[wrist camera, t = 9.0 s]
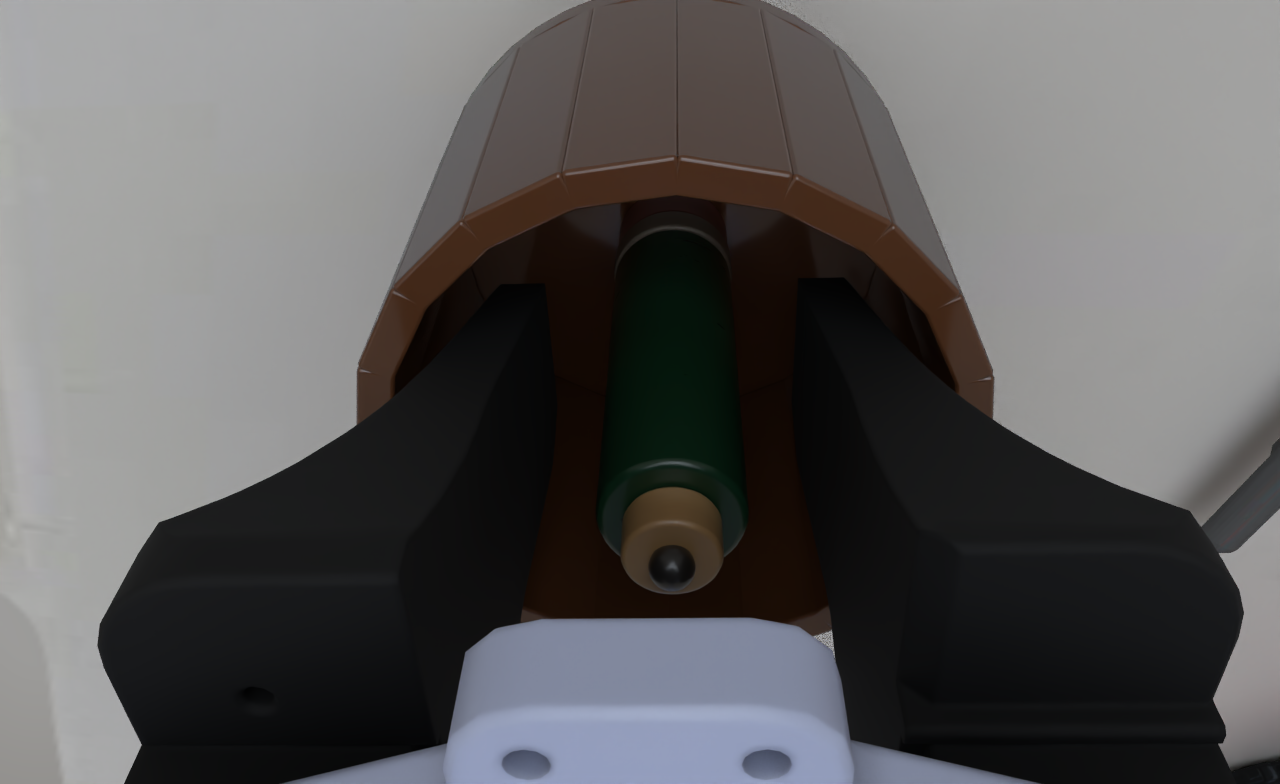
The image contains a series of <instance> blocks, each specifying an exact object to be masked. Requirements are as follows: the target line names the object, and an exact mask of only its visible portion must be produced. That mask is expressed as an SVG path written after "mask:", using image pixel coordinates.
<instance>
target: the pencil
mask: <svg viewBox="0 0 1280 784" xmlns="http://www.w3.org/2000/svg"><path fill="white" fill-rule="evenodd" d="M614 279H615V293H614V304H613V316H612V327H611V339H610V351H609V362H608V374H607V386H606V397H605V409H604V420H603V432H602V444H601V455H600V467H599V478H598V490H597V502H596V520H597V525H598V528H599V530H600V533H601V534H602V536H603V538H604V540H605V541H606V543H607V544H608V545H609V547H610V548H611V549H612V550H613V551H614V552H615V553H616V554H617V555H619V556H620V557H621V562H622V565H623V567H624V569H625V571H626V573H627V574H628V576H629V577H630V578H631V579H632V580H633V581H634V582H635V583H637V584H638V585H640V586H642V587H643V588H645V589H648V590H650V591H653V592H657V593H663V594H682V593H688V592H692V591H695V590H697V589H700V588H702V587H704V586H705V585H707V584H708V583H709V582H711V581H712V580H713V579H714V578H715V576H716V575H717V574H718V572H719V570H720V569H721V566H722V564H723V560H724V557H725V556H727V555H728V554H729V553H730V552H731V551H732V550H733V549H734V548H735V547H736V546H737V544H738V543H739V541H740V540H741V538H742V537H743V535H744V532H745V530H746V528H747V524H748V519H749V507H748V495H747V482H746V470H745V457H744V445H743V432H742V420H741V407H740V395H739V382H738V369H737V357H736V344H735V332H734V319H733V307H732V294H731V280H732V269H731V257H730V251H729V248H728V244H727V232H726V226H725V223H724V220H723V218H722V216H721V214H720V213H719V211H718V210H717V209H716V207H715V206H714V205H713V204H712V203H710V202H709V201H708V200H701V199H695V198H688V197H682V196H670V197H663V198H656V199H648V200H641V201H637V202H636V203H635V204H634V205H633V206H632V207H631V208H630V209H629V211H628V212H627V214H626V215H625V217H624V219H623V221H622V224H621V228H620V234H619V246H618V249H617V252H616V258H615V269H614Z"/></svg>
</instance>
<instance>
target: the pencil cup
mask: <svg viewBox="0 0 1280 784" xmlns="http://www.w3.org/2000/svg"><path fill="white" fill-rule="evenodd" d="M670 196H682V197H688V198H695V199H701V200H708V201H709V202H710V203H712V204H713V205H714V206H715V207H716V209H717V210H718V211H719V213H720V214H721V216H722V218H723V220H724V223H725V226H726V232H727V244H728V248H729V251H730V257H731V269H732V280H731V294H732V307H733V319H734V332H735V344H736V357H737V369H738V382H739V395H740V407H741V420H742V432H743V445H744V457H745V470H746V482H747V495H748V507H749V519H748V524H747V528H746V530H745V532H744V535H743V537H742V538H741V540H740V541H739V543H738V544H737V546H736V547H735V548H734V549H733V550H732V551H731V552H730V553H729V554H728V555H727V556H725V557H724V560H723V564H722V566H721V569H720V570H719V572H718V574H717V575H716V576H715V578H714V579H713V580H712V581H711V582H709V583H708V584H707V585H705V586H704V587H702V588H700V589H697V590H695V591H692V592H688V593H682V594H663V593H657V592H653V591H650V590H648V589H645V588H643V587H642V586H640V585H638V584H637V583H635V582H634V581H633V580H632V579H631V578H630V577H629V576H628V574H627V573H626V571H625V569H624V567H623V565H622V562H621V557H620V556H619V555H617V554H616V553H615V552H614V551H613V550H612V549H611V548H610V547H609V545H608V544H607V543H606V541H605V540H604V538H603V536H602V534H601V533H600V530H599V528H598V525H597V520H596V502H597V490H598V478H599V467H600V455H601V444H602V432H603V420H604V409H605V397H606V386H607V374H608V362H609V351H610V339H611V327H612V316H613V304H614V293H615V279H614V269H615V258H616V252H617V249H618V246H619V234H620V228H621V224H622V221H623V219H624V217H625V215H626V214H627V212H628V211H629V209H630V208H631V207H632V206H633V205H634V204H635V203H636V202H637V201H641V200H648V199H656V198H663V197H670ZM838 277H844V278H845V279H846V280H847V281H848V282H849V283H850V284H851V285H852V286H853V287H854V289H855V290H856V291H857V292H858V293H859V295H860V296H861V297H862V298H863V299H864V301H865V302H866V303H867V304H868V305H869V307H870V308H871V309H872V310H873V311H874V312H875V314H876V315H877V316H878V317H879V318H880V319H881V320H882V322H883V323H884V324H885V325H886V326H887V327H888V328H889V329H890V331H891V332H892V333H893V334H894V335H895V336H896V337H897V338H898V339H899V340H900V341H901V342H902V343H903V344H904V345H905V346H906V347H907V348H908V349H909V350H910V351H911V352H912V354H913V355H914V356H915V357H916V358H917V359H918V360H919V361H920V362H921V363H922V364H924V365H925V366H926V367H927V368H928V369H929V370H930V371H931V372H932V373H934V374H935V375H936V376H937V377H938V378H939V379H940V380H942V381H943V382H944V383H945V384H946V385H947V386H948V387H950V388H951V389H952V390H953V391H955V392H956V393H957V394H958V395H960V396H961V397H962V398H963V399H965V400H966V401H967V402H969V403H970V404H972V405H973V406H974V407H976V408H977V409H979V410H980V411H981V412H983V413H984V414H986V415H987V416H988V417H990V418H991V419H993V406H994V376H993V369H992V366H991V364H990V361H989V359H988V356H987V354H986V351H985V349H984V346H983V343H982V341H981V338H980V336H979V333H978V331H977V328H976V326H975V323H974V321H973V318H972V316H971V313H970V311H969V308H968V306H967V303H966V301H965V298H964V296H963V293H962V291H961V288H960V286H959V283H958V281H957V278H956V276H955V273H954V271H953V269H952V266H951V264H950V261H949V259H948V256H947V254H946V251H945V249H944V246H943V244H942V241H941V239H940V237H939V234H938V232H937V229H936V227H935V224H934V222H933V219H932V217H931V214H930V212H929V210H928V207H927V205H926V202H925V200H924V197H923V195H922V192H921V190H920V187H919V185H918V183H917V180H916V178H915V175H914V173H913V170H912V168H911V165H910V163H909V160H908V158H907V156H906V153H905V151H904V148H903V146H902V143H901V141H900V138H899V136H898V133H897V131H896V129H895V126H894V124H893V121H892V119H891V116H890V114H889V111H888V109H887V108H886V107H885V105H884V102H883V101H882V100H881V98H880V97H879V95H878V93H877V92H876V90H875V89H874V87H873V86H872V84H871V83H870V81H869V80H868V78H867V77H866V75H865V74H864V73H863V72H862V71H861V70H860V69H859V67H858V66H857V65H856V64H855V63H854V62H853V61H852V59H851V58H850V57H849V56H848V55H847V54H846V53H845V52H844V51H843V50H842V49H841V48H839V47H838V46H837V45H836V44H835V43H833V42H832V41H831V40H830V39H829V38H828V37H826V36H825V35H824V34H823V33H822V32H820V31H819V30H817V29H815V28H814V27H812V26H811V25H809V24H808V23H806V22H804V21H803V20H801V19H800V18H798V17H796V16H795V15H793V14H791V13H789V12H786V11H784V10H782V9H780V8H777V7H775V6H773V5H771V4H769V3H766V2H764V1H761V0H590V1H588V2H586V3H583V4H581V5H578V6H576V7H573V8H571V9H568V10H566V11H564V12H562V13H560V14H559V15H557V16H555V17H553V18H552V19H550V20H548V21H546V22H545V23H543V24H541V25H540V26H538V27H536V28H535V29H534V30H532V31H531V32H530V33H528V34H527V35H526V36H525V37H523V38H522V39H521V40H519V41H518V42H517V43H516V44H514V45H513V46H512V47H511V48H510V49H509V50H508V51H507V52H506V53H505V54H504V55H503V56H502V57H501V58H500V59H499V60H498V61H497V62H496V63H495V64H494V65H493V66H492V67H491V68H490V69H489V71H488V72H487V73H486V75H485V76H484V78H483V79H482V80H481V82H480V83H479V85H478V86H477V87H476V89H475V90H474V91H473V93H472V94H471V96H470V98H469V100H468V102H467V104H466V105H465V106H464V108H463V110H462V113H461V115H460V117H459V119H458V121H457V124H456V126H455V129H454V131H453V134H452V136H451V138H450V141H449V143H448V145H447V148H446V150H445V152H444V155H443V157H442V159H441V162H440V164H439V166H438V169H437V171H436V174H435V176H434V179H433V181H432V184H431V186H430V188H429V191H428V193H427V196H426V198H425V201H424V203H423V206H422V208H421V210H420V213H419V215H418V218H417V220H416V223H415V225H414V228H413V230H412V232H411V235H410V237H409V240H408V242H407V245H406V247H405V250H404V252H403V254H402V257H401V259H400V262H399V264H398V267H397V269H396V272H395V274H394V276H393V279H392V281H391V284H390V286H389V289H388V291H387V294H386V296H385V298H384V301H383V303H382V306H381V308H380V311H379V313H378V316H377V318H376V321H375V323H374V325H373V328H372V330H371V333H370V335H369V338H368V340H367V343H366V345H365V347H364V350H363V352H362V355H361V357H360V360H359V362H358V365H359V366H358V368H357V425H358V424H359V423H360V422H362V421H363V420H364V419H366V418H367V417H368V416H370V415H371V414H372V413H374V412H375V411H376V410H378V409H379V408H380V407H382V406H383V405H384V404H385V403H387V402H388V401H389V400H390V399H391V398H393V397H394V396H395V395H396V394H397V393H398V392H400V391H401V390H402V389H403V388H404V387H405V386H406V385H407V384H408V383H409V382H410V381H411V380H412V379H413V378H415V377H416V376H417V375H418V374H419V373H420V372H421V371H422V370H423V369H424V368H425V367H426V366H427V365H428V364H429V363H430V362H431V361H432V360H433V359H434V358H435V357H436V356H437V355H438V354H439V352H440V351H441V350H442V349H443V348H444V347H445V346H446V345H447V344H448V343H449V342H450V341H451V340H452V339H453V337H454V336H455V335H456V334H457V333H458V332H459V331H460V330H461V328H462V327H463V326H464V325H465V324H466V323H467V322H468V320H469V319H470V318H471V317H472V316H473V315H474V313H475V312H476V311H477V310H478V309H479V308H480V306H481V305H482V304H483V303H484V302H485V301H486V299H487V298H488V297H489V296H490V295H491V294H492V293H493V292H494V290H495V289H496V288H497V287H498V286H499V285H500V284H539V283H545V288H546V298H547V308H548V318H549V327H550V337H551V347H552V356H553V366H554V376H555V385H556V395H557V419H556V433H555V445H554V457H553V466H552V471H551V476H550V481H549V485H548V490H547V495H546V499H545V504H544V509H543V513H542V518H541V522H540V527H539V532H538V536H537V541H536V545H535V550H534V554H533V559H532V563H531V568H530V572H529V577H528V581H527V586H526V591H525V597H524V602H523V608H522V614H521V622H520V623H525V622H530V621H535V620H540V619H605V618H756V619H761V620H767V621H773V622H778V623H784V624H790V625H794V626H798V627H800V628H801V629H803V630H804V631H806V632H807V633H809V634H810V635H811V636H816V635H819V634H822V633H826V632H829V631H831V630H832V624H831V615H830V610H829V604H828V598H827V593H826V587H825V583H824V578H823V574H822V570H821V565H820V561H819V557H818V552H817V548H816V543H815V539H814V535H813V530H812V526H811V522H810V517H809V513H808V509H807V504H806V500H805V495H804V491H803V486H802V482H801V477H800V473H799V468H798V463H797V455H796V445H795V435H794V423H793V411H792V386H793V367H794V348H795V329H796V310H797V291H798V278H838Z"/></svg>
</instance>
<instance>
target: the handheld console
mask: <svg viewBox="0 0 1280 784" xmlns="http://www.w3.org/2000/svg"><path fill="white" fill-rule="evenodd" d="M1231 773H1232V775H1233V777H1234V779H1235V781H1236V783H1237V784H1280V760H1279V761H1275V762H1271V763H1267V762H1265V763H1261V764H1257V765H1254V766H1250V767H1246V768H1243V769H1239V770H1236V771H1233V772H1231Z"/></svg>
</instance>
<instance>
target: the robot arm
mask: <svg viewBox="0 0 1280 784" xmlns="http://www.w3.org/2000/svg"><path fill="white" fill-rule="evenodd" d="M792 411H793V423H794V435H795V445H796V455H797V463H798V468H799V473H800V477H801V482H802V486H803V491H804V495H805V500H806V504H807V509H808V513H809V517H810V522H811V526H812V530H813V535H814V539H815V543H816V548H817V552H818V557H819V561H820V565H821V570H822V574H823V578H824V583H825V587H826V593H827V598H828V604H829V610H830V615H831V624H832V633H833V642H834V651H835V658H834V655H833V652H832V650H831V649H830V648H828V647H827V646H826V645H824V644H823V643H821V642H820V641H818V640H817V639H816V638H814V637H813V636H811V635H810V634H809V633H807V632H806V631H804V630H803V629H801V628H800V627H798V626H794V625H790V624H784V623H778V622H773V621H767V620H761V619H756V618H605V619H540V620H535V621H530V622H525V623H520V622H521V614H522V608H523V602H524V597H525V591H526V586H527V581H528V577H529V572H530V568H531V563H532V559H533V554H534V550H535V545H536V541H537V536H538V532H539V527H540V522H541V518H542V513H543V509H544V504H545V499H546V495H547V490H548V485H549V481H550V476H551V471H552V466H553V457H554V445H555V433H556V419H557V395H556V385H555V376H554V366H553V356H552V347H551V337H550V327H549V318H548V308H547V298H546V288H545V283H539V284H500V285H499V286H498V287H497V288H496V289H495V290H494V292H493V293H492V294H491V295H490V296H489V297H488V298H487V299H486V301H485V302H484V303H483V304H482V305H481V306H480V308H479V309H478V310H477V311H476V312H475V313H474V315H473V316H472V317H471V318H470V319H469V320H468V322H467V323H466V324H465V325H464V326H463V327H462V328H461V330H460V331H459V332H458V333H457V334H456V335H455V336H454V337H453V339H452V340H451V341H450V342H449V343H448V344H447V345H446V346H445V347H444V348H443V349H442V350H441V351H440V352H439V354H438V355H437V356H436V357H435V358H434V359H433V360H432V361H431V362H430V363H429V364H428V365H427V366H426V367H425V368H424V369H423V370H422V371H421V372H420V373H419V374H418V375H417V376H416V377H415V378H413V379H412V380H411V381H410V382H409V383H408V384H407V385H406V386H405V387H404V388H403V389H402V390H401V391H400V392H398V393H397V394H396V395H395V396H394V397H393V398H391V399H390V400H389V401H388V402H387V403H385V404H384V405H383V406H382V407H380V408H379V409H378V410H376V411H375V412H374V413H372V414H371V415H370V416H368V417H367V418H366V419H364V420H363V421H362V422H360V423H359V424H358V425H356V426H355V427H354V428H352V429H351V430H349V431H348V432H346V433H345V434H343V435H342V436H340V437H338V438H337V439H335V440H334V441H332V442H330V443H329V444H327V445H325V446H324V447H322V448H321V449H319V450H317V451H316V452H314V453H312V454H311V455H309V456H308V457H306V458H304V459H303V460H301V461H299V462H298V463H296V464H294V465H292V466H290V467H288V468H286V469H284V470H283V471H281V472H279V473H277V474H275V475H273V476H271V477H269V478H267V479H265V480H263V481H261V482H259V483H256V484H254V485H252V486H250V487H248V488H246V489H244V490H242V491H239V492H237V493H235V494H232V495H230V496H228V497H226V498H223V499H220V500H218V501H215V502H213V503H210V504H207V505H205V506H202V507H200V508H197V509H194V510H192V511H189V512H187V513H184V514H181V515H179V516H176V517H174V518H171V519H168V520H165V521H162V522H159V523H158V525H157V526H156V528H155V529H154V531H153V532H152V534H151V535H150V537H149V538H148V540H147V541H146V543H145V544H144V546H143V547H142V549H141V550H140V552H139V553H138V555H137V557H136V559H135V561H134V563H133V564H132V566H131V568H130V570H129V572H128V573H127V575H126V577H125V579H124V581H123V583H122V584H121V586H120V588H119V590H118V592H117V594H116V595H115V597H114V599H113V601H112V603H111V605H110V606H109V608H108V610H107V612H106V614H105V616H104V617H103V619H102V621H101V623H100V628H99V637H98V649H99V653H100V656H101V659H102V663H103V666H104V669H105V671H106V673H107V675H108V677H109V679H110V681H111V683H112V685H113V687H114V689H115V691H116V693H117V695H118V697H119V699H120V701H121V703H122V705H123V707H124V710H125V712H126V714H127V716H128V718H129V720H130V722H131V724H132V726H133V728H134V730H135V732H136V734H137V736H138V738H139V740H140V742H141V744H142V746H141V748H140V750H139V753H138V755H137V757H136V759H135V761H134V763H133V766H132V768H131V770H130V772H129V774H128V776H127V779H126V781H125V783H124V784H1237V783H1236V781H1235V779H1234V777H1233V775H1232V773H1231V770H1230V768H1229V766H1228V764H1227V762H1226V760H1225V758H1224V756H1223V753H1222V751H1221V749H1220V747H1219V745H1218V743H1223V741H1224V739H1225V737H1226V729H1225V724H1224V722H1223V720H1222V718H1221V716H1220V714H1219V712H1218V710H1217V708H1216V706H1215V704H1214V702H1213V697H1214V695H1215V692H1216V690H1217V688H1218V685H1219V683H1220V680H1221V678H1222V676H1223V673H1224V671H1225V668H1226V666H1227V664H1228V661H1229V659H1230V656H1231V654H1232V652H1233V649H1234V647H1235V644H1236V642H1237V640H1238V637H1239V633H1240V628H1241V624H1242V619H1243V615H1244V611H1243V606H1242V602H1241V597H1240V592H1239V589H1238V587H1237V585H1236V584H1235V582H1234V580H1233V578H1232V576H1231V575H1230V573H1229V571H1228V569H1227V568H1226V566H1225V564H1224V562H1223V560H1222V559H1221V557H1220V555H1219V554H1218V552H1217V550H1216V549H1215V547H1214V545H1213V544H1212V542H1211V541H1210V539H1209V538H1208V536H1207V535H1206V534H1205V532H1204V531H1203V529H1202V528H1201V527H1200V525H1199V524H1198V523H1197V521H1196V520H1195V518H1194V517H1193V515H1192V514H1191V512H1190V511H1188V510H1185V509H1182V508H1180V507H1177V506H1174V505H1171V504H1168V503H1165V502H1163V501H1160V500H1157V499H1154V498H1151V497H1148V496H1146V495H1143V494H1140V493H1137V492H1134V491H1131V490H1129V489H1126V488H1123V487H1120V486H1118V485H1116V484H1113V483H1111V482H1109V481H1106V480H1104V479H1102V478H1100V477H1097V476H1095V475H1093V474H1091V473H1088V472H1086V471H1084V470H1082V469H1079V468H1077V467H1075V466H1073V465H1071V464H1069V463H1067V462H1065V461H1063V460H1061V459H1059V458H1057V457H1055V456H1053V455H1051V454H1049V453H1047V452H1046V451H1044V450H1042V449H1040V448H1039V447H1037V446H1035V445H1033V444H1032V443H1030V442H1028V441H1026V440H1025V439H1023V438H1021V437H1019V436H1018V435H1016V434H1014V433H1013V432H1011V431H1010V430H1008V429H1006V428H1005V427H1003V426H1002V425H1000V424H999V423H997V422H996V421H994V420H993V419H991V418H990V417H988V416H987V415H986V414H984V413H983V412H981V411H980V410H979V409H977V408H976V407H974V406H973V405H972V404H970V403H969V402H967V401H966V400H965V399H963V398H962V397H961V396H960V395H958V394H957V393H956V392H955V391H953V390H952V389H951V388H950V387H948V386H947V385H946V384H945V383H944V382H943V381H942V380H940V379H939V378H938V377H937V376H936V375H935V374H934V373H932V372H931V371H930V370H929V369H928V368H927V367H926V366H925V365H924V364H922V363H921V362H920V361H919V360H918V359H917V358H916V357H915V356H914V355H913V354H912V352H911V351H910V350H909V349H908V348H907V347H906V346H905V345H904V344H903V343H902V342H901V341H900V340H899V339H898V338H897V337H896V336H895V335H894V334H893V333H892V332H891V331H890V329H889V328H888V327H887V326H886V325H885V324H884V323H883V322H882V320H881V319H880V318H879V317H878V316H877V315H876V314H875V312H874V311H873V310H872V309H871V308H870V307H869V305H868V304H867V303H866V302H865V301H864V299H863V298H862V297H861V296H860V295H859V293H858V292H857V291H856V290H855V289H854V287H853V286H852V285H851V284H850V283H849V282H848V281H847V280H846V279H845V278H844V277H838V278H798V291H797V310H796V329H795V348H794V367H793V386H792ZM835 660H836V662H835Z"/></svg>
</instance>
